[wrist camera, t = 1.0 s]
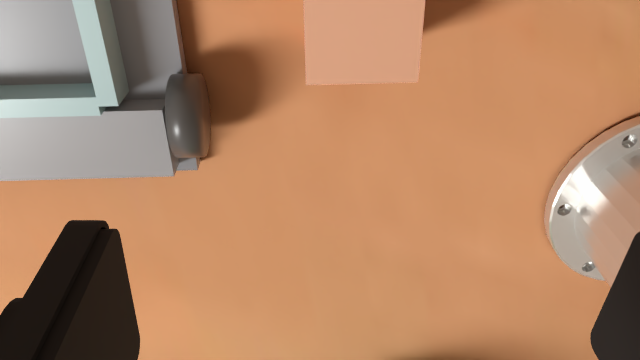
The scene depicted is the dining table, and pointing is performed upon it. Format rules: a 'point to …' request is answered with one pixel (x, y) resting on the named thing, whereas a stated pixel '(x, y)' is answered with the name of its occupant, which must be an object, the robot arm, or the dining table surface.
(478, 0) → the dining table surface
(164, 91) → the chassis
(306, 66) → the terracotta rectangular box
